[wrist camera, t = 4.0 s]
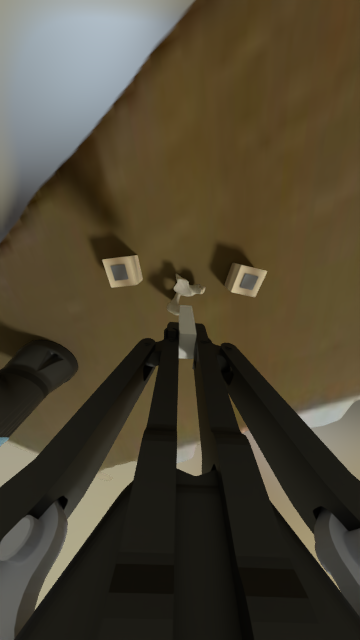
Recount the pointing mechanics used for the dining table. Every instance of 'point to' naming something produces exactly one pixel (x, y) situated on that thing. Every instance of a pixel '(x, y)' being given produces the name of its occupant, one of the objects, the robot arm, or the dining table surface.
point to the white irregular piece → (183, 293)
